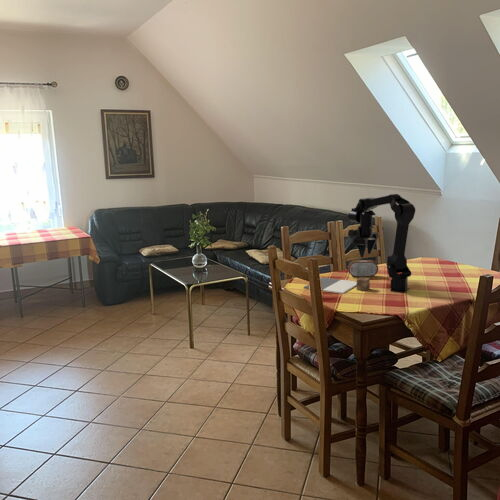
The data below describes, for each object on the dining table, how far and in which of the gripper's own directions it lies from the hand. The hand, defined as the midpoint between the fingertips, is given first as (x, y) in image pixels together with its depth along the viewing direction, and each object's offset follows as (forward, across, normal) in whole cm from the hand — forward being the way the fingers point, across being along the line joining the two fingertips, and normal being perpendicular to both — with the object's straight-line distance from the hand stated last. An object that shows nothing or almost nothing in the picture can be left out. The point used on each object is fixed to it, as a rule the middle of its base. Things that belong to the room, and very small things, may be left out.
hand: (365, 255), depth 245 cm
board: (+12, +18, -9) cm, 23 cm away
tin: (+12, -5, -3) cm, 14 cm away
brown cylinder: (+12, +17, +6) cm, 22 cm away
